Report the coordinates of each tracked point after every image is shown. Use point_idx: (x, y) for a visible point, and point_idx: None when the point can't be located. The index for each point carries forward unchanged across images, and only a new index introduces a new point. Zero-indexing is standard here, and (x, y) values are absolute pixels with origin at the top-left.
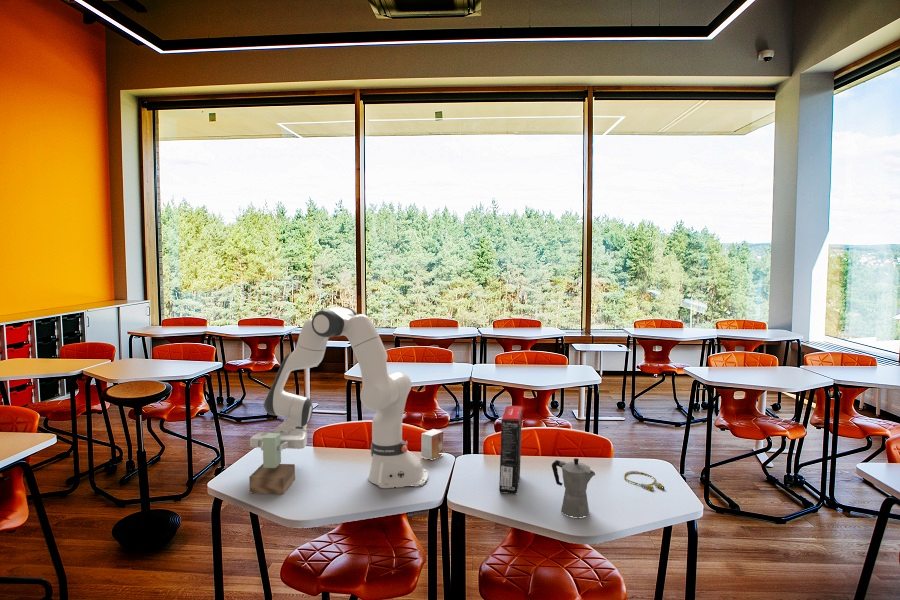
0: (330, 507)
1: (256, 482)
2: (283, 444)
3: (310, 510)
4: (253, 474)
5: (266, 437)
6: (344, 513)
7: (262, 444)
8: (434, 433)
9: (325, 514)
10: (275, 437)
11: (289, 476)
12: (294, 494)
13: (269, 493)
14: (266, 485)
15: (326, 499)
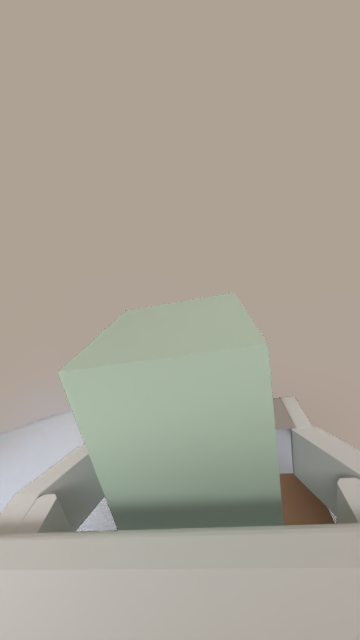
0: (19, 453)
1: None
2: (74, 451)
3: (72, 435)
4: (306, 488)
5: (202, 299)
6: (3, 434)
7: (302, 413)
8: None
9: (44, 425)
10: (123, 314)
11: None
12: (106, 529)
13: None
14: None
15: (5, 498)
